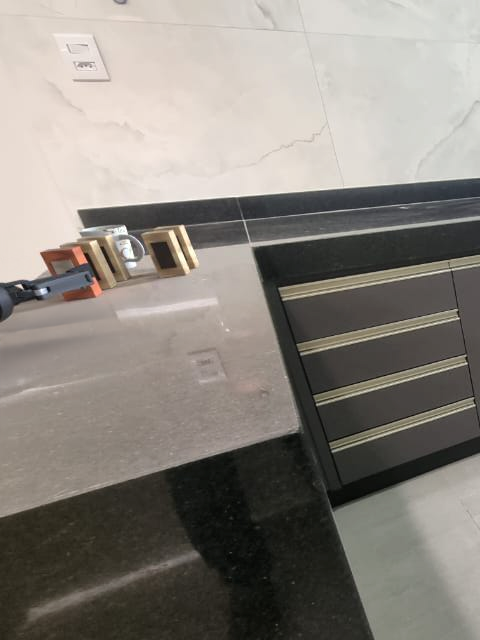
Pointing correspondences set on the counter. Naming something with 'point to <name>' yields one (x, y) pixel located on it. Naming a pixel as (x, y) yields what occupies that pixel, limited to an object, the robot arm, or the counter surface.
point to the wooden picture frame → (170, 250)
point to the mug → (118, 242)
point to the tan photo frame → (102, 259)
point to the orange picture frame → (66, 260)
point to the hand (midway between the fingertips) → (43, 275)
